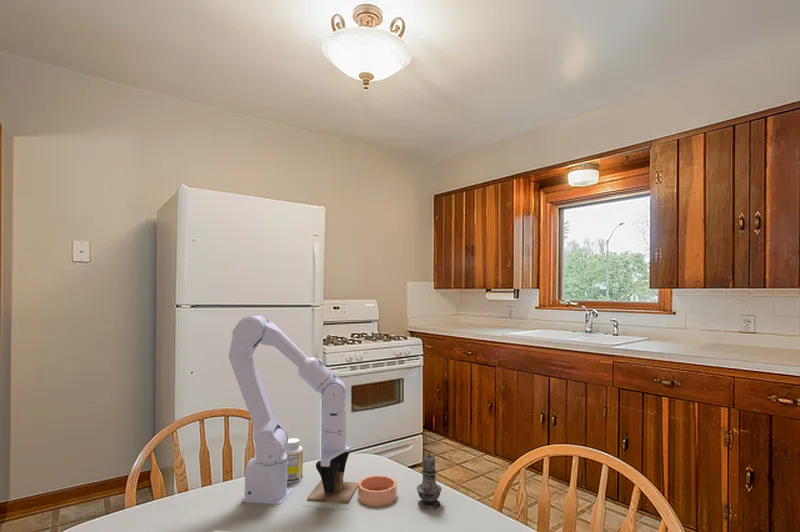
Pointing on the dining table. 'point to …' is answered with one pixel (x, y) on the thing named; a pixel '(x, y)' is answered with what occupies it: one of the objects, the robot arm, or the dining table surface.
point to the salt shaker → (429, 485)
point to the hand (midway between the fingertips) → (334, 485)
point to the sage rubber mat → (329, 503)
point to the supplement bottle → (294, 460)
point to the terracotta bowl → (377, 490)
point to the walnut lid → (340, 493)
